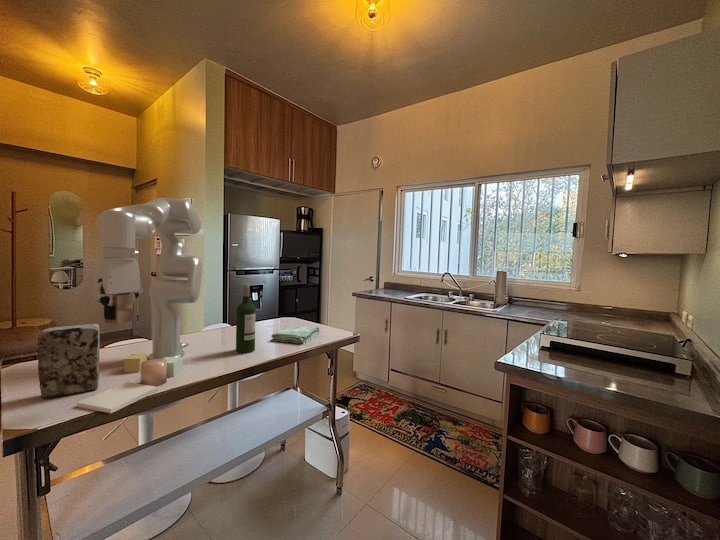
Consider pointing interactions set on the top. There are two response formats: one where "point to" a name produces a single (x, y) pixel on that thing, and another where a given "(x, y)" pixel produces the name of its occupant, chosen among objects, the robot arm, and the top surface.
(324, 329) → the top surface
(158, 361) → the peach rounded cube
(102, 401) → the cream board
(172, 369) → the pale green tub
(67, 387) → the stone block
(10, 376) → the top surface
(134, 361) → the mustard cube
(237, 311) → the wine bottle
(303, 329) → the towel
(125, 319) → the walnut block
